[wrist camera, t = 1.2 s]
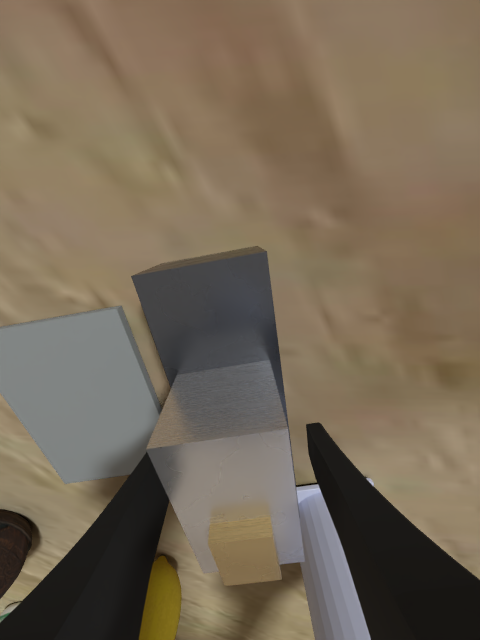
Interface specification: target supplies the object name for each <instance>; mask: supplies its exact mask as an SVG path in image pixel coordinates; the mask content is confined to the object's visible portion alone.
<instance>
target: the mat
mask: <svg viewBox="0 0 480 640" xmlns="http://www.w3.org/2000/svg"><path fill="white" fill-rule="evenodd" d="M0 393H1V394H2V396H3V397H4V399H5V400H6V401H7V403H8V404H9V406H10V407H11V409H12V410H13V411H14V413H15V414H16V416H17V417H18V418H19V420H20V421H21V423H22V424H23V425H24V427H25V428H26V430H27V431H28V432H29V434H30V435H31V437H32V438H33V439H34V441H35V442H36V444H37V445H38V447H39V448H40V449H41V451H42V452H43V454H44V455H45V456H46V458H47V459H48V461H49V462H50V463H51V465H52V466H53V468H54V469H55V470H56V472H57V473H58V475H59V476H60V477H61V479H62V480H63V482H64V483H65V484H67V483H74V482H82V481H89V480H96V479H103V478H110V477H117V476H125V475H131V473H132V472H133V470H134V469H135V468H136V466H137V465H138V463H139V462H140V461H141V459H142V458H143V456H144V455H145V454H146V452H147V451H146V448H147V445H148V443H149V440H150V438H151V436H152V433H153V431H154V428H155V426H156V424H157V421H158V419H159V416H160V414H161V412H162V408H161V406H160V403H159V401H158V398H157V396H156V393H155V391H154V388H153V385H152V383H151V380H150V378H149V375H148V373H147V370H146V368H145V365H144V362H143V360H142V357H141V355H140V352H139V350H138V347H137V344H136V342H135V339H134V337H133V334H132V332H131V329H130V327H129V324H128V321H127V319H126V316H125V314H124V311H123V309H122V306H116V307H110V308H105V309H99V310H93V311H88V312H82V313H76V314H71V315H65V316H59V317H54V318H48V319H43V320H37V321H31V322H26V323H20V324H14V325H9V326H3V327H0Z"/></svg>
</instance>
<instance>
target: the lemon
mask: <svg viewBox="0 0 480 640" xmlns="http://www.w3.org/2000/svg"><path fill="white" fill-rule="evenodd" d="M180 610H181V585H180V581H179V578H178V575H177V572H176V571H175V569H174V568H173V567H172V566H171V565H170V564H168V562H167V559H166V557H165V556H160V557H159V558H158V559H157V560H156V561H155V562H153V565H152V570H151V574H150V579H149V584H148V590H147V595H146V600H145V606H144V611H143V617H142V623H141V629H140V635H139V640H174V639H175V636H176V632H177V627H178V623H179V617H180Z"/></svg>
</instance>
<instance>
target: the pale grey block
mask: <svg viewBox="0 0 480 640" xmlns="http://www.w3.org/2000/svg"><path fill="white" fill-rule="evenodd" d="M146 451H147V453H148V455H149V457H150V459H151V461H152V463H153V466H154V468H155V470H156V472H157V474H158V476H159V478H160V481H161V483H162V485H163V487H164V489H165V491H166V494H167V496H168V498H169V500H170V502H171V504H172V506H173V509H174V511H175V513H176V515H177V517H178V519H179V522H180V524H181V526H182V528H183V530H184V532H185V534H186V537H187V539H188V541H189V543H190V545H191V547H192V550H193V552H194V554H195V556H196V558H197V560H198V562H199V565H200V567H201V569H202V571H203V573H211V572H219V573H220V575H221V577H222V580H223V582H224V585H225V586H231V585H240V584H248V583H257V582H266V581H275V580H282V576H281V569H280V564H288V563H297V562H305V558H304V551H303V543H302V535H301V527H300V519H299V511H298V503H297V495H296V487H295V479H294V472H293V464H292V456H291V448H290V440H289V432H288V426H287V423H286V419H285V415H284V412H283V408H282V404H281V400H280V397H279V393H278V389H277V385H276V382H275V378H274V374H273V371H272V367H271V363H270V360H267V361H261V362H255V363H249V364H242V365H236V366H230V367H224V368H217V369H211V370H205V371H199V372H192V373H186V374H180V375H177V376H176V378H175V380H174V383H173V385H172V388H171V390H170V392H169V395H168V397H167V400H166V402H165V404H164V407H163V409H162V412H161V414H160V416H159V419H158V421H157V424H156V426H155V428H154V431H153V433H152V436H151V438H150V440H149V443H148V445H147V448H146Z"/></svg>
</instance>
